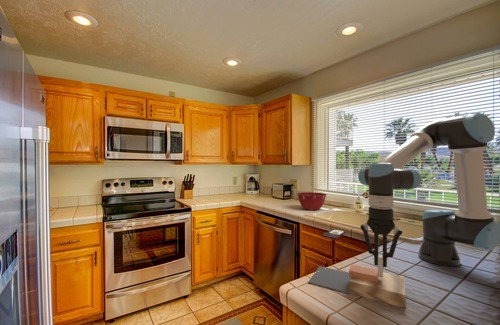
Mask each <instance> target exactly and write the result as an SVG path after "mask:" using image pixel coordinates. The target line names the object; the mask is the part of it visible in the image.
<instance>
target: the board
mask: <svg viewBox="0 0 500 325" xmlns="http://www.w3.org/2000/svg"><path fill="white" fill-rule="evenodd" d="M405 285H406V284H405V276H403V275H398V274H393V273H388V272H385V271H383V277H379V276H378V283H377V282H373V281H368V280H364V279H360V278H356V277H351V278H350V281H349V294H353V295H356V296H359V297H362V298H363V297H364V298H367V299H370V300H374V301H378V302H381V303H385V304H389V305H393V306H396V307H400V308H404V309H406V299H407V297H406V287H405Z"/></svg>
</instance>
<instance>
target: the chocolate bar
mask: <svg viewBox="0 0 500 325" xmlns="http://www.w3.org/2000/svg"><path fill="white" fill-rule="evenodd" d="M345 234H347V231H343V230H339V229H334V228H333V229H330V230H329V231H327V232H324V233H322V234H321V235H320V236H321V237H323V238H328V239H334V240H337V239H339V238H340V237H342V236H343V235H345Z"/></svg>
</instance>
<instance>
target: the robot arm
mask: <svg viewBox="0 0 500 325" xmlns="http://www.w3.org/2000/svg"><path fill="white" fill-rule="evenodd" d="M495 134H496V130H495V125H494V123H493V121H492V120H491V118H489V116H488V115H486V114H483V113H470V114H469V113H468V114H464V115H463V114H462V115H458V116H451V117H445V118H441V119H436V120H434V121H431V122H429V123H428V124H426V125H424V126H422V127H421V128H419V129H417V130H416V131H414V133H412V134H411V135H410V137H409V139H407V140H406V141H405V142H404V143H402V144H401V145H399V147H397V148H396V149H395V150H393V151H392V152H390V153H389V154H388V155H386V156H384V158H382V159H381V160H379V161H378V162H372V163H370V164H369V165H368V166H369V167H364V168H361V169H360V170H359V171H358V173H357V174H358V175H357V180H358V181H359V183H360V184H361V185H364V186H366V187H368V205H369V207H368V219H367V222H366V223H362V224H360V229H361V231H362V232H363V235H364V241H365V243H366V244H365V245H366V247H367V252H368V253H369V254H370V255H373V261H374V262H373V264H374V266H377V270H378V276H379V277H383V272H384V268H387V266H388V259H389V258H393V257H394V254H395V251H396V247H397V243H398V241H399V237H401V235H403V230H402V229H401V228H399V227H397V226H396V224H395V222H394V209H393V208H394V191H396V190H402V191H403V190H405V191H406V190H408V191H410V190H415V189H417V188H418V187H420V185H421V183H422V176H421V174H420V173H419V171H417V170H416V169H413V168H404V167H405V166H406V165H407V164H409V163H410V162H411V161H413V160H414V159H415V158H416V157H418V156H419V155H420V154H422V153H423V152H427V151H429V150H431V149H432V148H434V147H439V146H440V147H441V146H448V151H450V152H452V153H453V157H454V158H453V160H454V170H455V171H454V172H455V181H456V183H455V185H456V195H457V205H458V206H457V207H458V209H457V210H456V211H455V210H451V209H426V210H424V211H423V214H422V242H421V244H420V246H419V249H418V257H419V258H420V259H422V261H423V260H424V261H425V262H428V263H431V264H435V265H439V266H447V267H457V266H460V265H461V257H460V255H459V252H458V250H457V247H456V243H458V244H462V245H465V246H469V247H472V248H474V249H481V250H484V251H492V250H494V249H496V248H498V246H499V245H500V222H498V221H496V220H495V219H494V214H492V212H490V211H489V210H488V201H487V188H486V175H485V166H484V156H483V155H484V153H483V152H484V151H485V150H486V149H487V148H488V143H490V142H492V141H493V140H494V139H495ZM369 228H370V230H371V232H372V233H373V234H374V235H373V237H374V238H373V240H374V242H373V245H374V246H372V242H371V237H370V235H369ZM391 232H393V237H392V241H391V245H390V247H389V248H390V249H389V251H388V235H389V234H391ZM379 235H382V254H379ZM373 247H374V248H373Z"/></svg>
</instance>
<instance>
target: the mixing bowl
mask: <svg viewBox="0 0 500 325" xmlns="http://www.w3.org/2000/svg"><path fill="white" fill-rule="evenodd" d="M296 194H297V197H298V201H299V203H300V205H301V207H302V208H303V209H304V210H306V209H308V210H307V211H318V209H319V210H320V209H322V207H323V205H324V204H325V200H326V197H327V193H322V192H314V191H313V192H310V191H309V192H308V191H307V192H306V191H305V192H297V193H296Z"/></svg>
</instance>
